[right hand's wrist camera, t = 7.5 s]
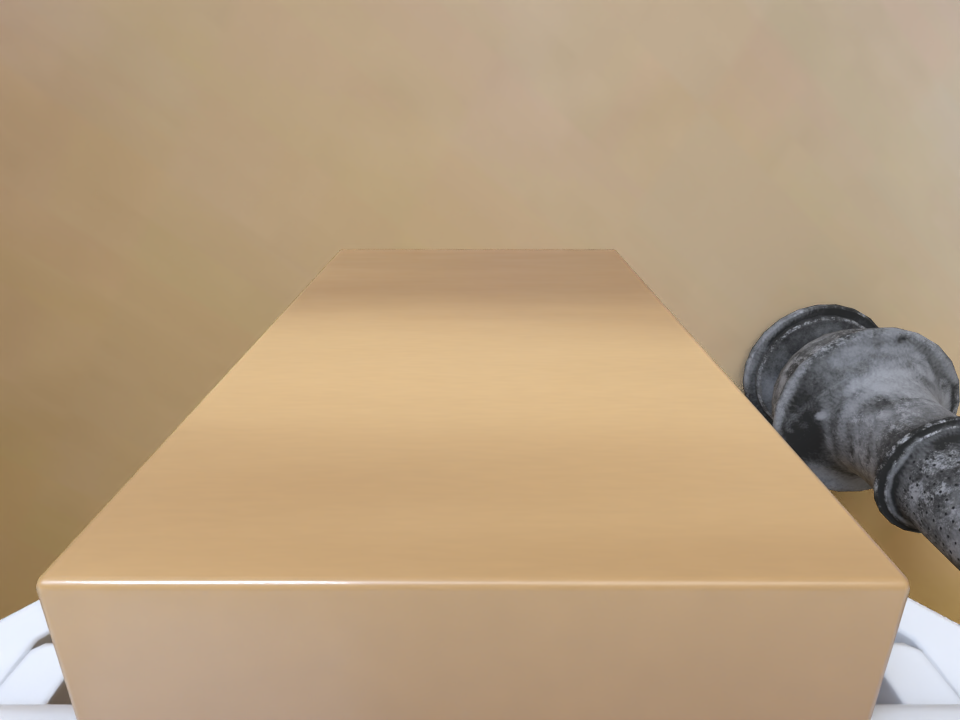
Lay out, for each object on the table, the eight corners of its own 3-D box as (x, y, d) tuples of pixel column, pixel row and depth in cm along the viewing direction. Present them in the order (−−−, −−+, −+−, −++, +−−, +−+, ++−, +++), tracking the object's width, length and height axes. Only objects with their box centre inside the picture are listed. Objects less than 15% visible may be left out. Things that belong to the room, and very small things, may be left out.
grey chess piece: (928, 356, 24) (1306, 572, 13) (811, 467, 26) (1056, 741, 15) (818, 263, 23) (1133, 417, 12) (702, 387, 25) (882, 622, 14)
